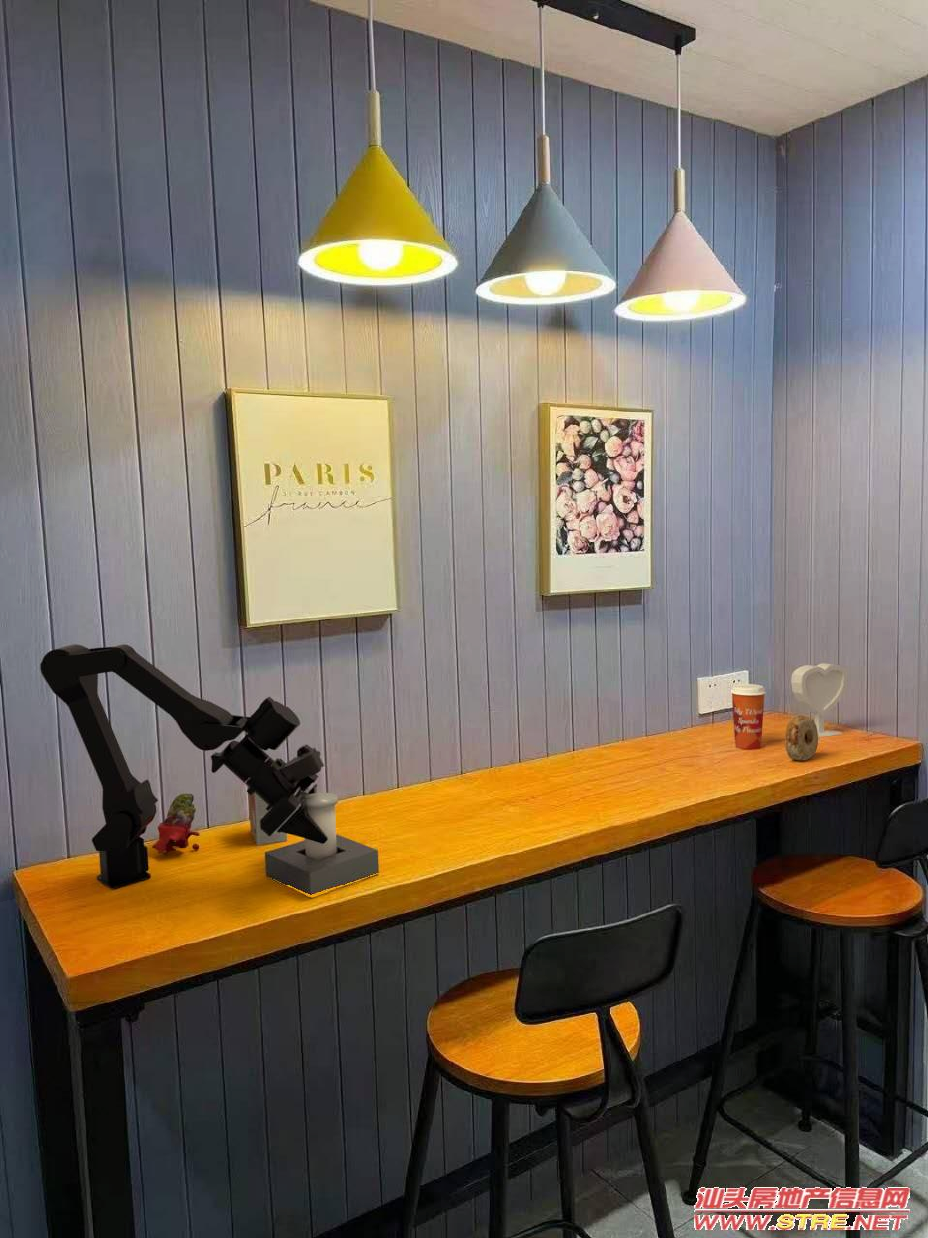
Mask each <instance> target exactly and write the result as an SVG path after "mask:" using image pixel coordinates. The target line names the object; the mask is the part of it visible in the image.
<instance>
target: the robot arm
mask: <svg viewBox="0 0 928 1238" xmlns="http://www.w3.org/2000/svg"><path fill="white" fill-rule="evenodd" d="M39 667H40V668H39V670H40V673H41V675H42V677H43V679H44V680H45V682H46V684H47V685H48V687H49V688H50V690H51V692H52V693H53V694H55V695H56V697H58V699H60V700H61V701H62V702H63V703H64V704H65V705H66V706H67V707H68V709H69V712H70V714H71V717H72V718H73V722H74V723H75V725H76V728H77V731H78V733H79V736H80V737H81V738H80V739H81V740H82V742H83V745H84V747H85V750H86V752H87V754H88V756H89V759H90V761H91V764H92V766H93V768H94V770H95V773H96V776H97V778H98V780H99V782H100V786H101V789H102V795H101V796H102V798H101V799H102V801H101V802H102V803H101V806H102V813H103V816H104V817H103V818H104V821H105V822H104V823H105V824H104V825H103V827H102V828H101V829H100V830H98V832H97V833H96V834H95V835H93V837H92V838H91V842H92V845H93V847H94V849H95V851H96V852H98V856H99V866H100V867H99V871H100V874H98V875H97V876H96V880H98V881H99V882H101V883H103V884H104V885H105V886H106V887H109V889H117V888H121V887H123V886H127V885H130V884H134V883H137V882H140V881H144V880H147V879H150V878H151V873H149V872H148V871H149V869H150V868H149V867H150V866H149V853H148V846H146V845H145V839H144V838H143V837H141V836H142V835H144V834H145V833H146V832H147V831H146V830H147V827H148V826H149V825H150V824H151V822H153V820H155V816H156V814H157V806H156V803H157V802H158V801H159V799H158V798H157V797H156V796H155V795H154V793H153V791H152V786H151V783H150V781H149V779H145V780H143V781H142V782H140V781H139V780H138V779H137V778H136V777H135V776H133V774H132V773H131V769H130V768H129V765H128V763H127V761H126V759H125V756H124V754H123V751H122V749H121V747H120V744H119V742H118V739H117V737H116V735H115V733H114V730H113V728H112V725H111V723H110V721H109V718H108V715H107V713H106V711H105V709H104V705H103V704H102V701H101V700H100V697H99V691H98V690H99V689H98V687H99V683H98V682H99V674H104V673H105V674H106V673H114V674H116V676H118V677H120V678H121V679H122V680H123V681H125V682H126V683H128V684H129V685H130V686H131V687H133V688H134V689H135V690H137V691H138V692H140V694H142V695H143V696H144V697H146V698H147V699H148V700H150V701H151V702H152V703H154V704H155V705H156V706H158V707H159V708H160V709H161V710H162V711H164V712H166V714H168V715H170V716H171V718H172V720H174V721H175V723H176V724H177V726H178V728H179V730H180V731H181V733H182V734H183V735H184V736H185V737H186V738H187V739H188V740H189V741H190V742H191V743H192V744H193V745H194V747H196V748H197V749H199V750H201V751H203V752H206V751H214V750H216V749H218V748H221V746H223V744H225V743H226V742H229V741H230V742H229V743H228V744H227V745H226V747H224V749H223V750H222V751H221V752H214V753H213V754H211V755H210V758H211V759H210V760H211V773H213V774H216V772H218V771H219V770H220V769H222V767H223V766H225V768H227V769H228V770H229V771H231V773H233V774H234V775H235V776H236V777H237V778H238V779H239V780H240V781H241V782H243V783H244V785H246V786H247V787H248V788H247V790H246V793H247V794H248V795H249V794H250V795H252V794H253V793H254V792H255V793H256V794H257V795H258V796H259V797H260V798H261V799H262V800H263V801H264V802H265V803H267V804H268V806H267V807H266V810H267V813H266V814H265V815H264V816H263V817H262V819H261V820H260V829H261V830H262V831H263V832H265V833H266V834H267V835H268V836H269V837H270V836H271V835H272V834H273V833H274V832H275V831H276V830H277V829H278V828H279V829H278V830H277V832H278V833H280V832H283V833H287V835H291V836H296V837H298V838H299V837H300V838H303V839H304V840H305V839H309V840H312V841H315V842H318V843H322V844H324V843H325V842H326V841H327V840H328V838H327V836H326V835H325V834H324V832H323V831H322V830H321V829H320V828H319V826H318V825H317V824H316V823H315V822H314V820H313V819H312V818H311V817H310V816H309V814H308V813H307V803H306V800H305V801H304V802H303V803H302V804H300V798H301V797H303V796H305V795H308V794H313V793H318V792H317V791H318V784H317V783H315V782H316V781H317V780H318V778H319V775H318V774H319V772H321V771H322V768H323V767H324V766H325V764H324V762H323V761H322V758H321V757H320V756H321V752H320V751H318V750H317V749H316V747H314V748H313V747H311V746H310V745H309V744H304V745H302V746H301V747H299V748H298V749H297V750H296V757H293V758H292V759H290V760H289V761H286V762H285V761H284V760H283V759H282V758H279V757H277V758H276V759H273V758H272V757H271V756H270V755H269V754H268V753H267V752H266V751H268V750H272V751H275V750H278V749H279V747H280V746H281V745H283V743H284V742H285V741H286V740H287V739H288V738H289V737H290V736H291V735H292V734H293V733H294V731H296V730H297V729H298V727H299V726H300V725H301V720H300V719H299V717H298V716H297V714H296V713H295V712H294V711H293V710H292V709H291V708H290V707H288V706H285V705H284V704H283V703H281V702H279V701H276V700H274V699H273V698H272V697H271V696H267V697H266V698H265V699H264V700H263V701H262V702H261V703H260V705H259V706H258V708H257V709H256V711H254V713H252V715H251V716H245V715H235V714H231V712H230V711H228V710H226V708H223V707H221V706H219V705H217V704H215V703H213V702H212V701H209V700H206V699H203V698H200V697H197V696H195V695H193V694H191V693H190V692H189V691H188V690H186V689H185V688H183V687H182V686H181V685H179V684H178V683H177V682H176V681H175V680H173V679H172V678H170V677H169V676H167V674H165V673H164V672H162V671H161V670H160V668H157V667H156V666H155V665H153V664H152V663H151V662H150V661H148V660H147V659H145V658H144V657H143V656H142V655H140V654H139V653H138V652H137V651H136V650H135V649H134V648H133V647H132V646H130V645H128V644H118V645H115V646H102V647H93V648H88V647H87V646H86V647H85V646H84V645H81V644H75V643H74V644H71V645H66V646H62V647H59V648H56V649H51V650H50V651H48V652H47V653H46V654H44V656H43V658H42V661H41V663H40V665H39ZM244 732H245V733H246V734H245V735H244V737H243V738H242V739H241V740H240V741H238V740H235V739H236V738H238V737H239V736H240V735H242V733H244ZM249 778H250V779H249ZM248 779H249V780H248ZM312 784H314V785H313V787H311V785H312ZM310 787H311V788H310ZM281 824H282V825H281ZM280 825H281V826H280Z"/></svg>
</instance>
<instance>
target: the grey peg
mask: <svg viewBox="0 0 928 1238" xmlns="http://www.w3.org/2000/svg"><path fill="white" fill-rule="evenodd" d="M305 800H306V803H307V813H308V814H309V816H310V817H311V818H312V819H313V820H314V822H315V823H316V824H317V825H318V826H319V828H320V829H321V830H322V831H323V832H324V834H325V835H326V836H327V838H328V840H327V841H326V842H325V843H324V844H322V843H318V842H315V841H312V840H309V839H305V838H304V840H305V852H306V856H307V857H309V858H311V859H314V860H316V861H317V860H320V859H323V858H326V857H329V856H332V855H335V854H337V843H336V834H337V828H336V827H337V825H336V823H337V821H336V805H337V804H338V802H339V801H338V795H337V794H335V793H331V792H317V793H313V794H308V795H305V796H303V797H301V798H300V804H302V803H303V802H304V801H305Z"/></svg>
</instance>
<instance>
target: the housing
mask: <svg viewBox="0 0 928 1238" xmlns="http://www.w3.org/2000/svg"><path fill="white" fill-rule="evenodd" d="M336 843H337V854H335V855H332V856H329V857H326V858H323V859H320V860H317V861H316V860H314V859H311V858H309V857H307V856H306V852H305V839H304V840H301V841H297V842H295V843H291V844H288V845H285V846H281V847H278V848H274V849H271V850H267V851H265V852H264V861H265V862H264V864H265V877H266V876H267V878H268V877H270V878H272V879H271V880H273V879H275V880H277V881H279V882H281V883H283V884H285V885H290V886H292V887H294V888H296V889H298V890H301V891H303V892H305V893H308V894H310V895H312V894H315V893H317V892H321V891H323V890H326V889H330V888H333V887H337V886H340V885H345V884H347V883H350V882H354V881H356V880H359V879H362V878H365V877H368V876H370V875H373V874H376V873H379V874H380V866H379V850H378V849H376V848H373V847H371V846H368V845H366V844H362V843H360V842H357V841H355V840H352V839H350V838H348V837H344V836H342V835H339V834H337V833H336ZM270 878H269V879H270ZM275 880H274V881H275ZM277 881H276V882H277ZM279 882H278V883H279ZM281 883H280V884H281ZM283 884H282V885H283ZM285 885H284V886H285Z"/></svg>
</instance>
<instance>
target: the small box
mask: <svg viewBox="0 0 928 1238" xmlns="http://www.w3.org/2000/svg"><path fill="white" fill-rule="evenodd" d="M249 779H250V778H249ZM249 779H248V780H249ZM248 780H247V781H248ZM248 804H249V806H248V807H249V823H250V826H249V827H250V833H251V835H252V837H253V839H254V842H255V844H256V846H262V845H268V844H270V845H271V844H276V843H283V842H287V841H288V834H287V833H283V832H280V833H278V832H277V830H278V829H279V828H278V829H277V830H276V831H275V832H274V833H273V834H272V835H271V836H270V837H269V836H268V835H267V834H266V833H265V832H263V831H262V830H261V829H260V820H261V819H262V817H263V816H264V815H265V814H266V813H267V810H266V807H267V806H268V804H267V803H265V802H264V801H263V800H262V799H261V798H260V797H259V796H258V795H257V794H256V793H255V792H254V793H253V794H252V795H250V794H249V793H248ZM281 825H282V824H281ZM281 825H280V826H281Z"/></svg>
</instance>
